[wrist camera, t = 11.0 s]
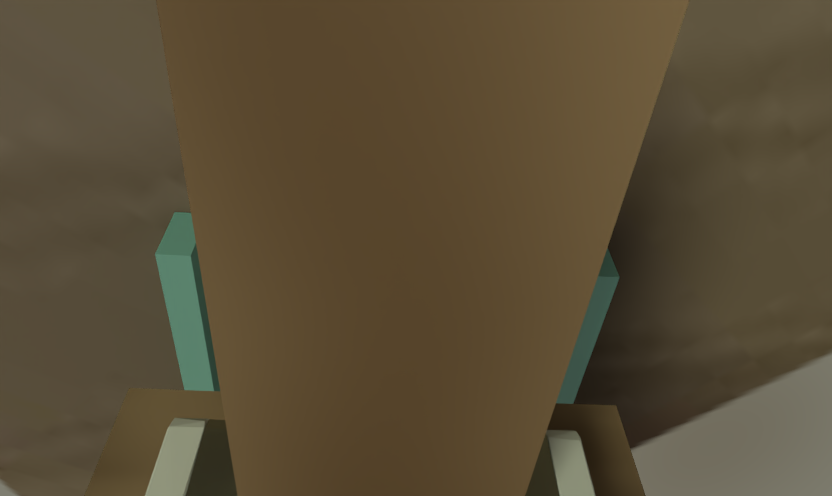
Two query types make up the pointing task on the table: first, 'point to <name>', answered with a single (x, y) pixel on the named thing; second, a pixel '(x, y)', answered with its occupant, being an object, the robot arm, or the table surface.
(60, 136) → the table surface
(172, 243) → the frame
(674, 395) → the table surface
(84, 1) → the table surface
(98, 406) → the table surface
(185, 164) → the wooden post on base
